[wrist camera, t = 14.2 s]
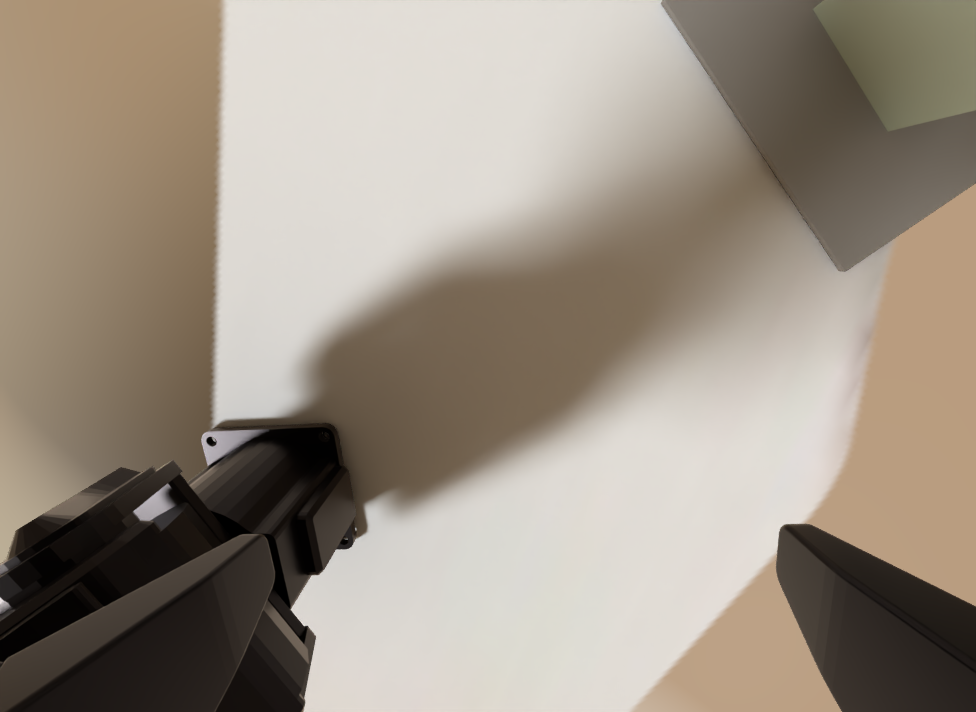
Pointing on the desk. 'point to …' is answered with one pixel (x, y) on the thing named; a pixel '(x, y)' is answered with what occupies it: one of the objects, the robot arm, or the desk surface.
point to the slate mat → (825, 124)
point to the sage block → (907, 55)
